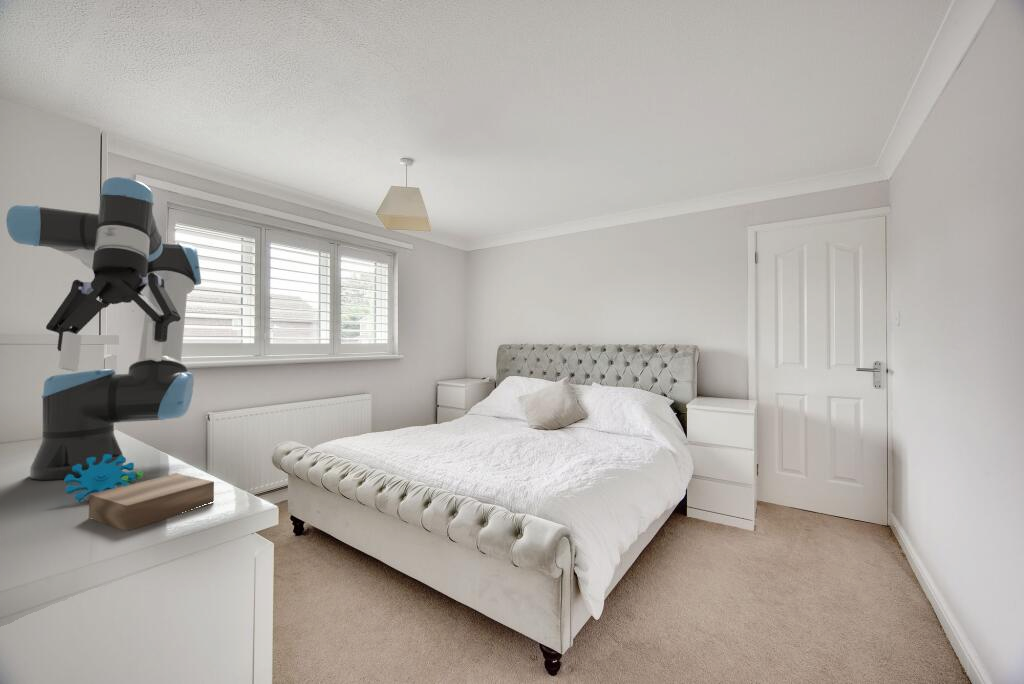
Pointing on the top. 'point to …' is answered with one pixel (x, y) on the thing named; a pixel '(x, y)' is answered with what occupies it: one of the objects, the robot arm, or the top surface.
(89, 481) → the gear
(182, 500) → the brown rectangular block
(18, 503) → the top surface
